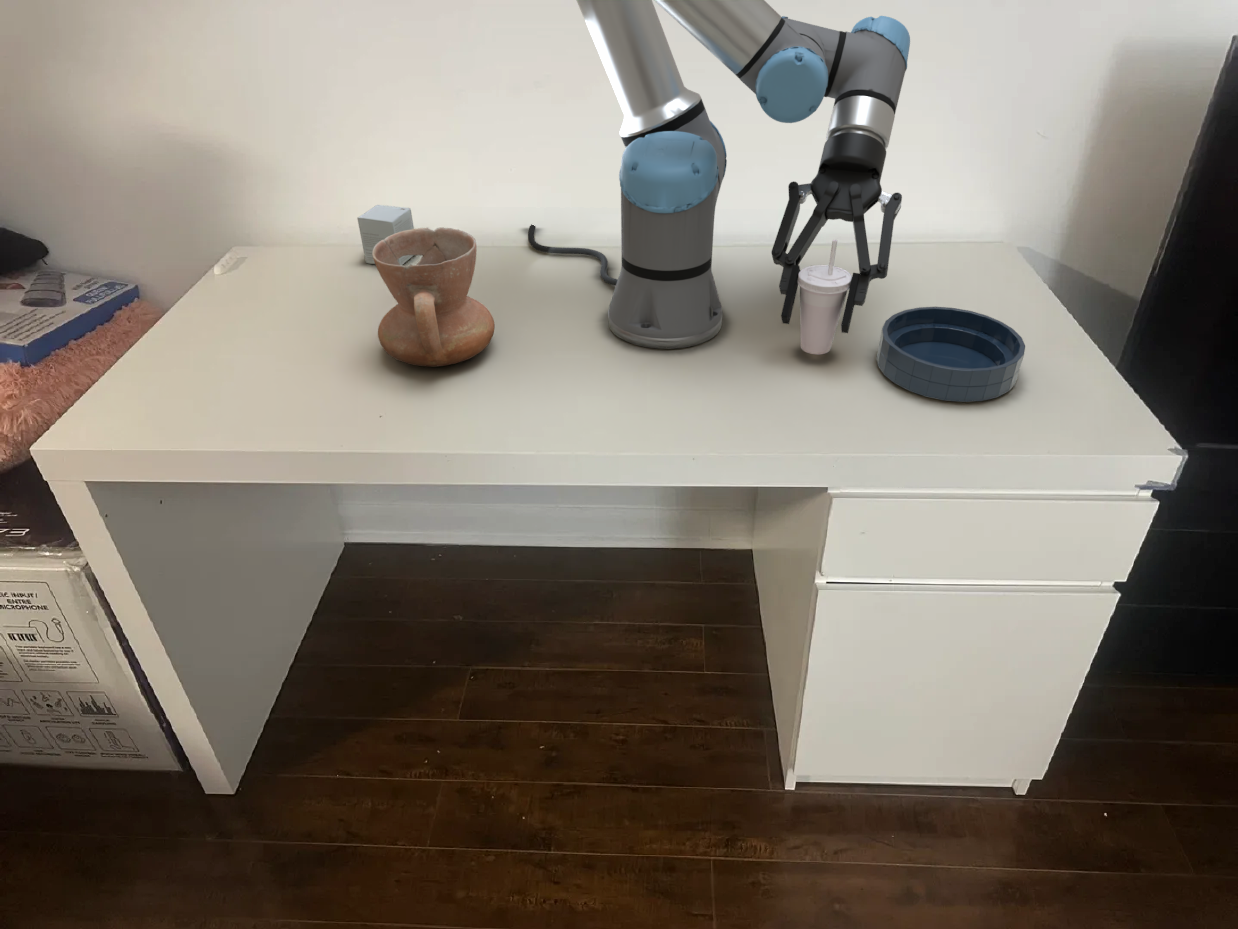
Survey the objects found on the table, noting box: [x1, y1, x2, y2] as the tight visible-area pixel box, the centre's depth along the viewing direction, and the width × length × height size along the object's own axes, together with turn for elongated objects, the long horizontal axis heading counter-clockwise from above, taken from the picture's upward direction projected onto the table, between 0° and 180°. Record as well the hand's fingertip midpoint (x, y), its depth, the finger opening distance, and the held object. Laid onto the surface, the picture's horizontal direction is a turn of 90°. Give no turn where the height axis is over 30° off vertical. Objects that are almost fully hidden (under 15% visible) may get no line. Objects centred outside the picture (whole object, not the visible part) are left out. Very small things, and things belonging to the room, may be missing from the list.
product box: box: [357, 204, 415, 266], centre depth 134 cm, size 6×6×7 cm
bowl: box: [876, 306, 1026, 403], centre depth 105 cm, size 16×16×4 cm
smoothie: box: [797, 239, 853, 355], centre depth 105 cm, size 6×6×14 cm
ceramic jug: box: [372, 226, 495, 368], centre depth 107 cm, size 18×14×14 cm
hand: (814, 324), depth 104 cm, fingers closed on smoothie, 6 cm apart
